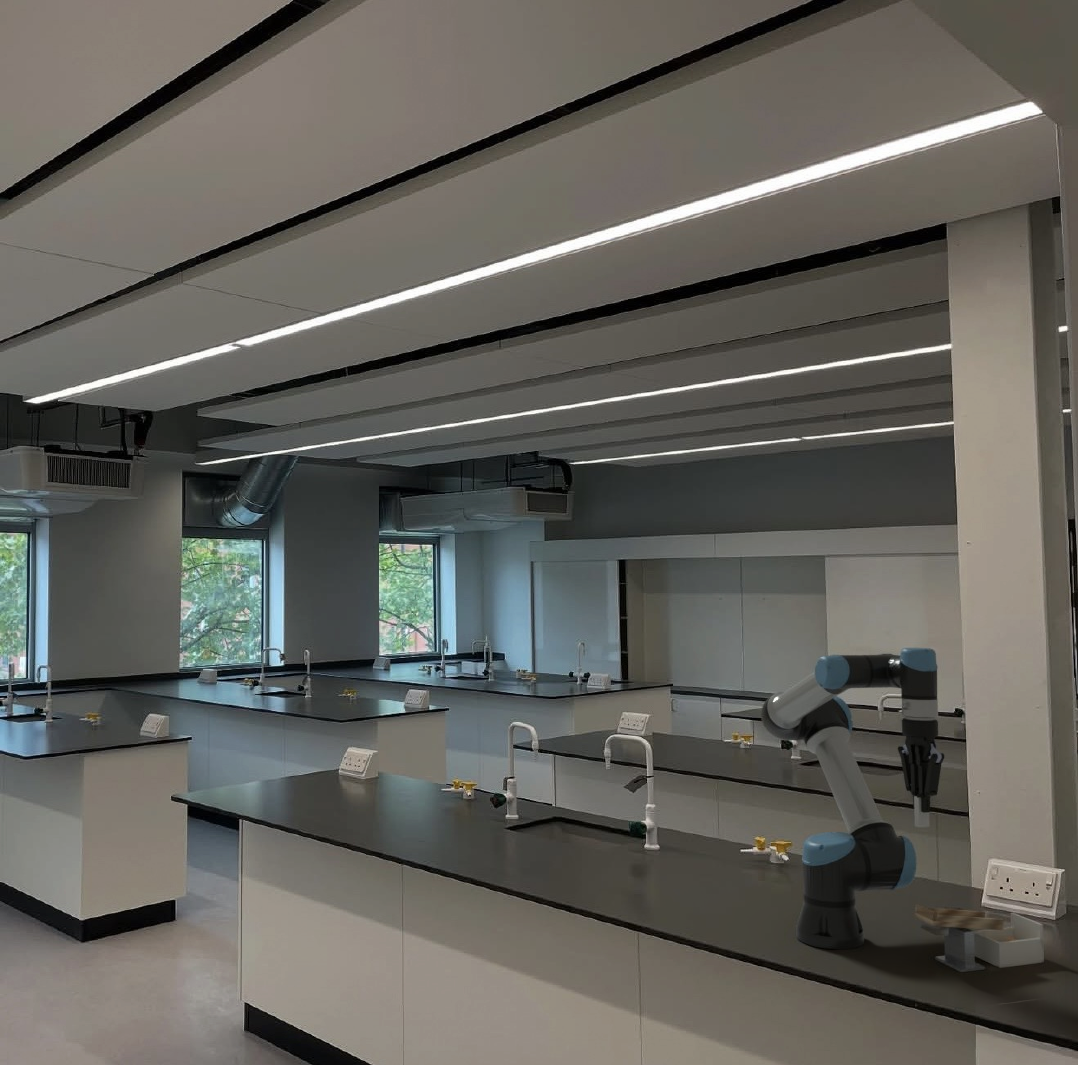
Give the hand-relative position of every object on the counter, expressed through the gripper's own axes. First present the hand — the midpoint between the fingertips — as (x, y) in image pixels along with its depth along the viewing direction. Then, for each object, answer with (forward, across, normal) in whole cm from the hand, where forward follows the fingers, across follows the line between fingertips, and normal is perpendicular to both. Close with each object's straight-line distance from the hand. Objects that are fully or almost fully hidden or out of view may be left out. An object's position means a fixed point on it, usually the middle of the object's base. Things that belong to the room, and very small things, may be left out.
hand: (922, 826), depth 225 cm
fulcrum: (+28, +5, +5) cm, 29 cm away
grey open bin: (+28, +5, +17) cm, 34 cm away
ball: (+26, +5, +19) cm, 32 cm away
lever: (+22, +2, +5) cm, 22 cm away
